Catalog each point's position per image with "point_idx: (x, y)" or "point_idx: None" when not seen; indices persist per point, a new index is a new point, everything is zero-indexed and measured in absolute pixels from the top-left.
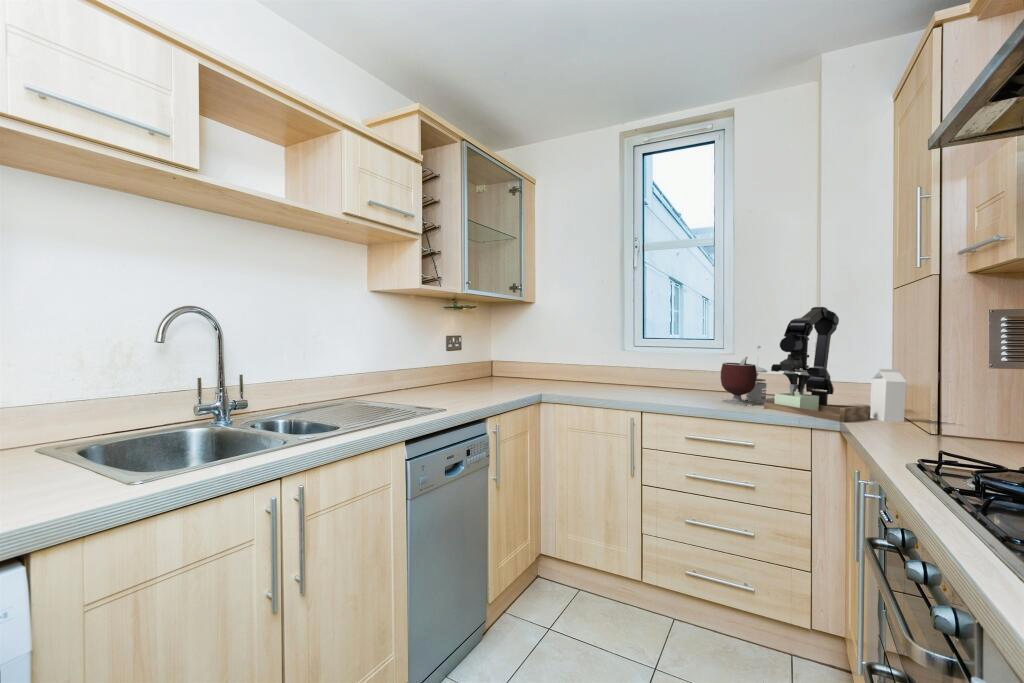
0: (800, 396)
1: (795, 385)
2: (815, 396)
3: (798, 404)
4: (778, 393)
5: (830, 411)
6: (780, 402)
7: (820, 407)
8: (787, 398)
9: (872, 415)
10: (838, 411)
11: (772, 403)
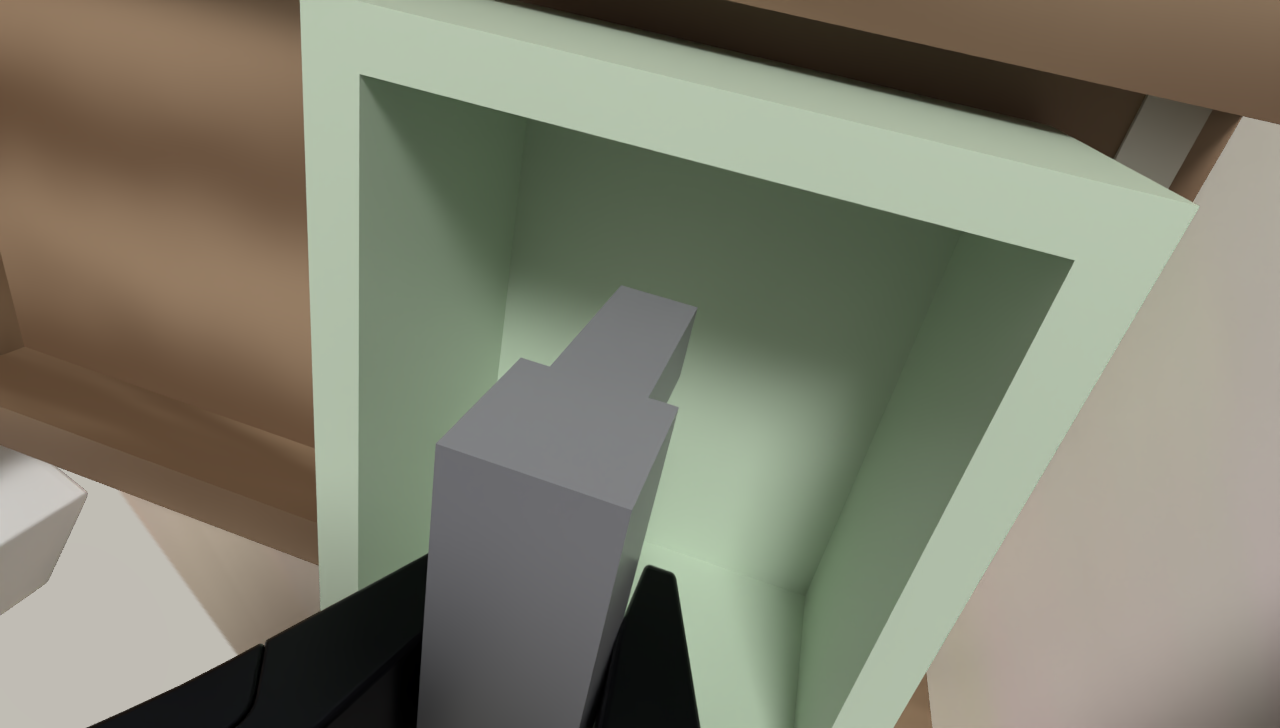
0: None
1: (440, 539)
2: (321, 573)
3: (455, 3)
4: (1083, 379)
5: None
6: (921, 108)
7: None
8: (714, 79)
9: (5, 487)
10: (218, 453)
11: (1129, 25)
